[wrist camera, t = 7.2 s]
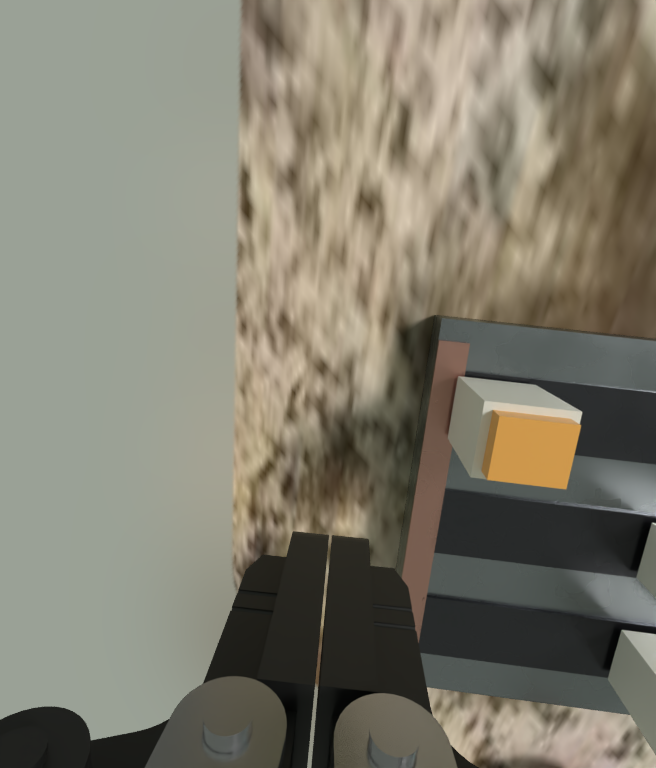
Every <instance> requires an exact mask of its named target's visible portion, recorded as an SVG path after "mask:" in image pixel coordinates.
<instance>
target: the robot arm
mask: <svg viewBox="0 0 656 768" xmlns="http://www.w3.org/2000/svg"><path fill="white" fill-rule="evenodd" d="M328 540H329V535H324V534H314V533H304V532H295V531H293V533H292V537H291V541H290V545H289V549H288V553H287V557H280V556H270V555H262V556H261V557H260V558H259V559H258V560H256V561H255V562H254V563H253V564H252V565H251V566H250V567H249V568H247V569H246V571H245V574H244V577H243V579H242V582H241V584H240V587H239V591H238V593H237V595H236V598H235V600H234V603H233V606H232V611H230V614H229V616H228V619H227V622H226V624H225V627H224V630H223V632H222V635H221V638H220V640H219V643H218V646H217V648H216V651H215V653H214V656H213V659H212V661H211V664H210V667H209V669H208V672H207V675H206V677H205V680H204V683H203V684H202V685H200V686H198V687H197V688H196V689H194V690H192V691H191V692H190V693H189V694H187V695H186V696H185V697H184V698H183V699H182V700H181V702H180V703H179V704H178V705H177V707H176V708H175V710H174V712H173V713H172V715H171V717H170V719H168V720H166V721H165V722H163V723H161V724H159V725H156V726H154V727H151V728H148V729H145V730H141V731H137V732H133V733H128V734H122V735H117V736H113V737H107V738H102V739H97V740H92V741H91V740H90V733H89V729H88V727H87V725H86V723H85V722H84V720H83V719H82V718H81V717H80V716H79V715H77V714H76V713H75V712H73V711H70V710H68V709H65V708H60V707H38V708H32V709H28V710H24V711H21V712H18V713H15V714H12V715H10V716H7V717H5V718H3V719H1V720H0V768H307V762H308V752H309V741H310V730H311V720H312V710H313V698H314V689H315V679H316V668H317V658H318V647H319V637H320V626H321V615H322V605H323V594H324V583H325V573H326V562H327V551H328ZM312 768H478V767H476V766H475V765H473V764H472V763H470V762H469V761H468V760H466V759H465V758H464V757H463V756H462V755H460V754H459V753H458V752H457V751H456V750H455V749H454V748H453V747H452V746H451V745H450V742H449V739H448V737H447V735H446V733H445V732H444V730H443V728H442V727H441V725H440V724H439V723H438V721H437V720H436V719H435V718H434V717H433V715H432V711H431V707H430V702H429V697H428V692H427V686H426V681H425V675H424V670H423V664H422V659H421V654H420V648H419V643H418V637H417V632H416V631H415V621H414V615H413V612H412V605H411V599H410V594H409V588H408V586H407V585H406V583H405V582H404V581H403V580H402V578H401V577H400V576H399V574H398V573H397V572H396V570H395V569H394V568H384V567H375V566H370V552H369V540H368V539H363V538H353V537H344V536H334V535H332V543H331V553H330V564H329V575H328V585H327V596H326V606H325V617H324V628H323V639H322V651H321V662H320V674H319V686H318V698H317V709H316V721H315V733H314V744H313V756H312Z"/></svg>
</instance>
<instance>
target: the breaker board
mask: <svg viewBox="0 0 656 768" xmlns="http://www.w3.org/2000/svg"><path fill="white" fill-rule="evenodd" d="M458 376H461V377H470V378H479V379H488V380H497V381H506V382H515V383H524V384H533V385H537V386H538V387H540V388H542V389H544V390H545V391H547V392H549V393H551V394H552V395H554V396H556V397H557V398H559V399H561V400H563V401H564V402H566V403H568V404H570V405H571V406H573V407H575V408H577V409H578V410H580V411H582V416H581V420H580V425H581V429H580V433H579V437H578V442H577V446H576V450H575V454H574V459H573V463H572V467H571V472H570V476H569V480H568V484H567V489H558V488H550V487H541V486H533V485H525V484H516V483H508V482H500V481H491V480H487V479H480V478H471V477H470V476H469V474H468V472H467V470H466V469H465V467H464V465H463V464H462V462H461V460H460V458H459V457H458V455H457V453H456V452H455V450H454V448H453V446H452V445H451V443H450V441H449V440H448V433H449V427H450V421H451V415H452V409H453V403H454V397H455V391H456V385H457V380H458ZM652 523H656V339H653V338H644V337H634V336H625V335H616V334H606V333H597V332H588V331H578V330H569V329H560V328H551V327H541V326H532V325H523V324H513V323H504V322H495V321H486V320H476V319H467V318H458V317H448V316H439V315H435V316H434V323H433V330H432V336H431V343H430V349H429V356H428V362H427V369H426V375H425V382H424V388H423V395H422V402H421V408H420V415H419V421H418V428H417V434H416V441H415V447H414V454H413V460H412V467H411V474H410V480H409V487H408V493H407V500H406V506H405V513H404V519H403V526H402V533H401V539H400V546H399V552H398V559H397V565H396V572H397V573H398V574H399V576H400V577H401V578H402V580H403V581H404V582H405V583H406V585H407V586H408V588H409V594H410V599H411V605H412V612H413V615H414V621H415V631H416V632H417V637H418V643H419V648H420V654H421V659H422V664H423V670H424V675H425V681H426V686H427V687H430V688H437V689H444V690H452V691H459V692H466V693H474V694H481V695H488V696H496V697H503V698H510V699H518V700H525V701H532V702H540V703H547V704H554V705H562V706H569V707H576V708H584V709H591V710H598V711H606V712H613V713H620V714H628V715H630V714H629V712H628V710H627V709H626V707H625V706H624V704H623V703H622V701H621V699H620V698H619V696H618V695H617V693H616V691H615V690H614V688H613V687H612V685H611V684H610V682H609V680H608V676H609V672H610V669H611V665H612V662H613V658H614V655H615V651H616V648H617V644H618V641H619V637H620V634H621V630H627V631H635V632H642V633H650V634H656V598H655V597H654V596H653V595H652V594H651V593H650V592H649V591H648V590H647V588H646V587H645V586H644V585H643V584H642V583H641V582H640V581H639V580H638V579H637V578H636V577H637V574H638V570H639V567H640V563H641V559H642V556H643V552H644V549H645V545H646V542H647V538H648V535H649V531H650V528H651V524H652Z"/></svg>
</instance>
